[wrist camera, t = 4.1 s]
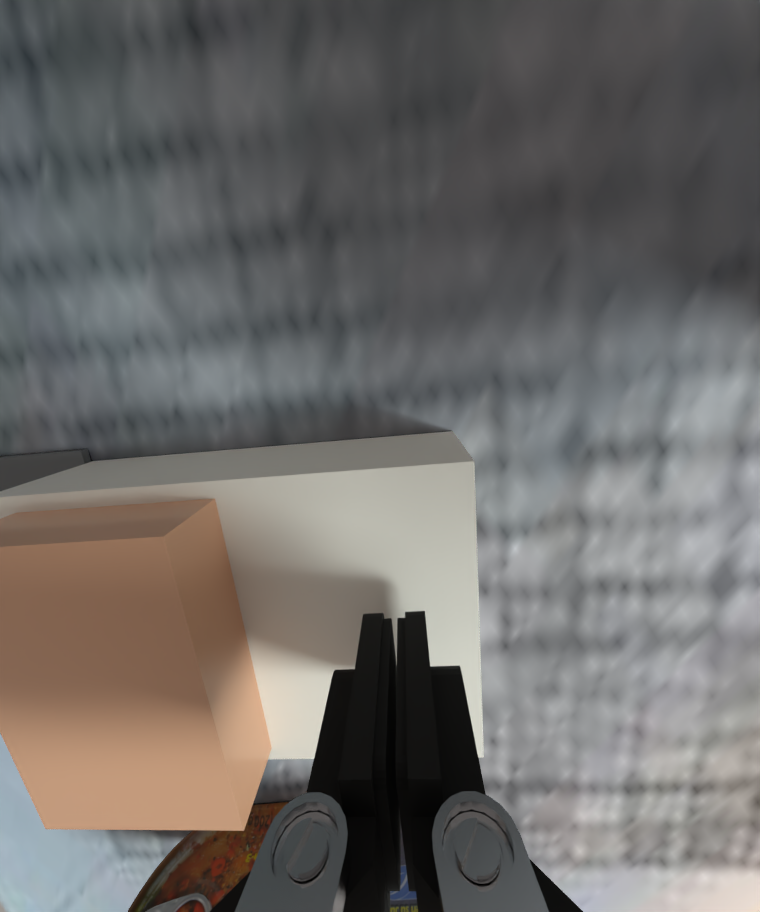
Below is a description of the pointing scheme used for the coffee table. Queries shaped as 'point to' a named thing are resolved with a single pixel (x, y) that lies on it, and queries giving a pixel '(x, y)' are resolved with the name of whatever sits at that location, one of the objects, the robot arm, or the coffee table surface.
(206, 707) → the tile
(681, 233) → the coffee table surface
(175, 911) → the tin
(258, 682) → the block
